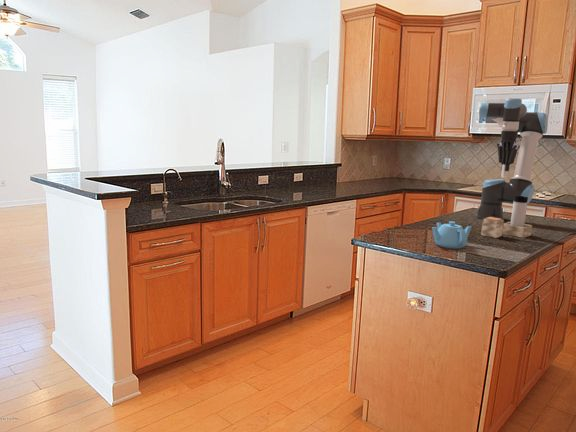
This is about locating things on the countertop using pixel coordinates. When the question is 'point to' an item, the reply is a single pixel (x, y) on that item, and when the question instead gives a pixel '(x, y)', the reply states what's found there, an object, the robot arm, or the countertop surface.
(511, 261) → the countertop surface
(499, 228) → the dock
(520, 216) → the travel mug
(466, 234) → the teapot
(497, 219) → the orange square panel
